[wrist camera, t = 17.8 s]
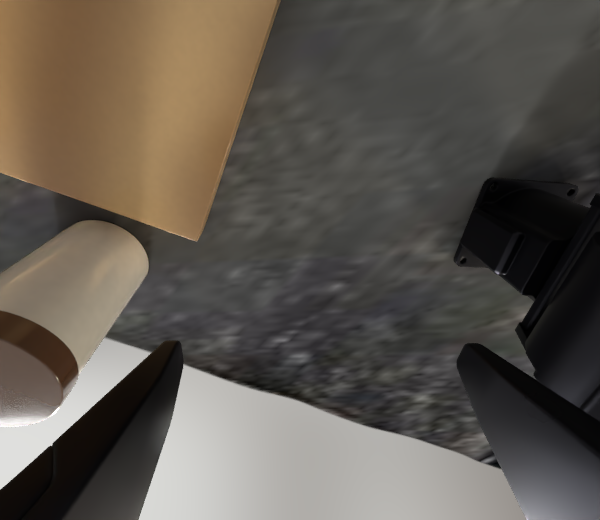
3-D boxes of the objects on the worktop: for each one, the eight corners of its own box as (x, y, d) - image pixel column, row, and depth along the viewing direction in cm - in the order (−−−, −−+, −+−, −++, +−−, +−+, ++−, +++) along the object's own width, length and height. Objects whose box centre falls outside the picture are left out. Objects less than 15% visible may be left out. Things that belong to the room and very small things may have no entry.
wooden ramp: (290, -27, 14) (302, -123, 8) (203, 228, 20) (171, 292, 14) (-95, -278, 10) (-707, -884, 4) (-57, 133, 16) (-269, 162, 10)
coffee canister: (109, 203, 18) (-35, 305, 10) (167, 274, 21) (94, 401, 13) (36, 240, 19) (-157, 363, 11) (101, 303, 22) (-10, 441, 13)
